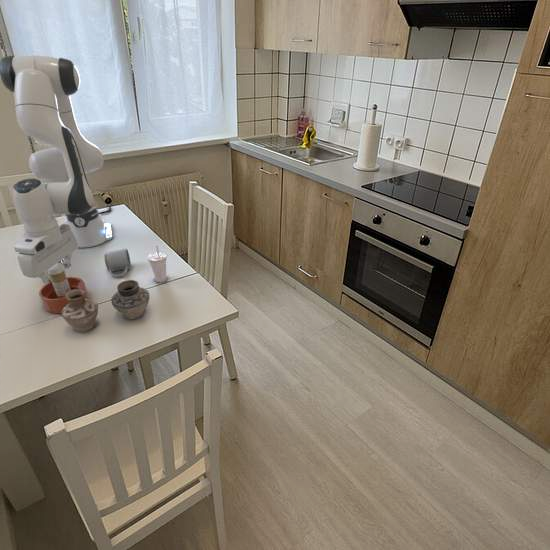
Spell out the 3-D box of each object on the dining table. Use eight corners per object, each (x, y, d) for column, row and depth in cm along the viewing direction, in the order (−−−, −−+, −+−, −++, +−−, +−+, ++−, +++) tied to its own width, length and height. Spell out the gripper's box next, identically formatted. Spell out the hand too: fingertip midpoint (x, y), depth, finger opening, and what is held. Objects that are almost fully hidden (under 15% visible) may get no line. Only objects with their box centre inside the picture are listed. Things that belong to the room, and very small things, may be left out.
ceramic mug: (108, 265, 149) (103, 247, 145) (131, 262, 151) (127, 244, 147) (107, 280, 141) (102, 262, 136) (131, 276, 143) (127, 258, 139)
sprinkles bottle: (67, 295, 132) (55, 260, 125) (77, 298, 130) (65, 264, 123) (55, 302, 128) (43, 267, 121) (65, 306, 127) (53, 271, 119)
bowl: (50, 292, 134) (45, 279, 131) (91, 288, 136) (88, 275, 133) (39, 316, 123) (33, 302, 120) (84, 311, 125) (79, 297, 122)
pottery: (66, 320, 121) (55, 288, 115) (148, 299, 131) (142, 269, 125) (68, 342, 113) (56, 309, 107) (155, 318, 123) (149, 286, 116)
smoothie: (165, 285, 138) (159, 250, 131) (148, 283, 139) (141, 248, 132) (173, 275, 143) (167, 241, 136) (156, 273, 145) (150, 240, 137)
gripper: (59, 220, 125) (70, 257, 133) (8, 249, 109) (25, 290, 116) (76, 222, 124) (87, 259, 132) (28, 252, 107) (43, 293, 115)
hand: (58, 274), depth 124 cm, fingers open, 8 cm apart
